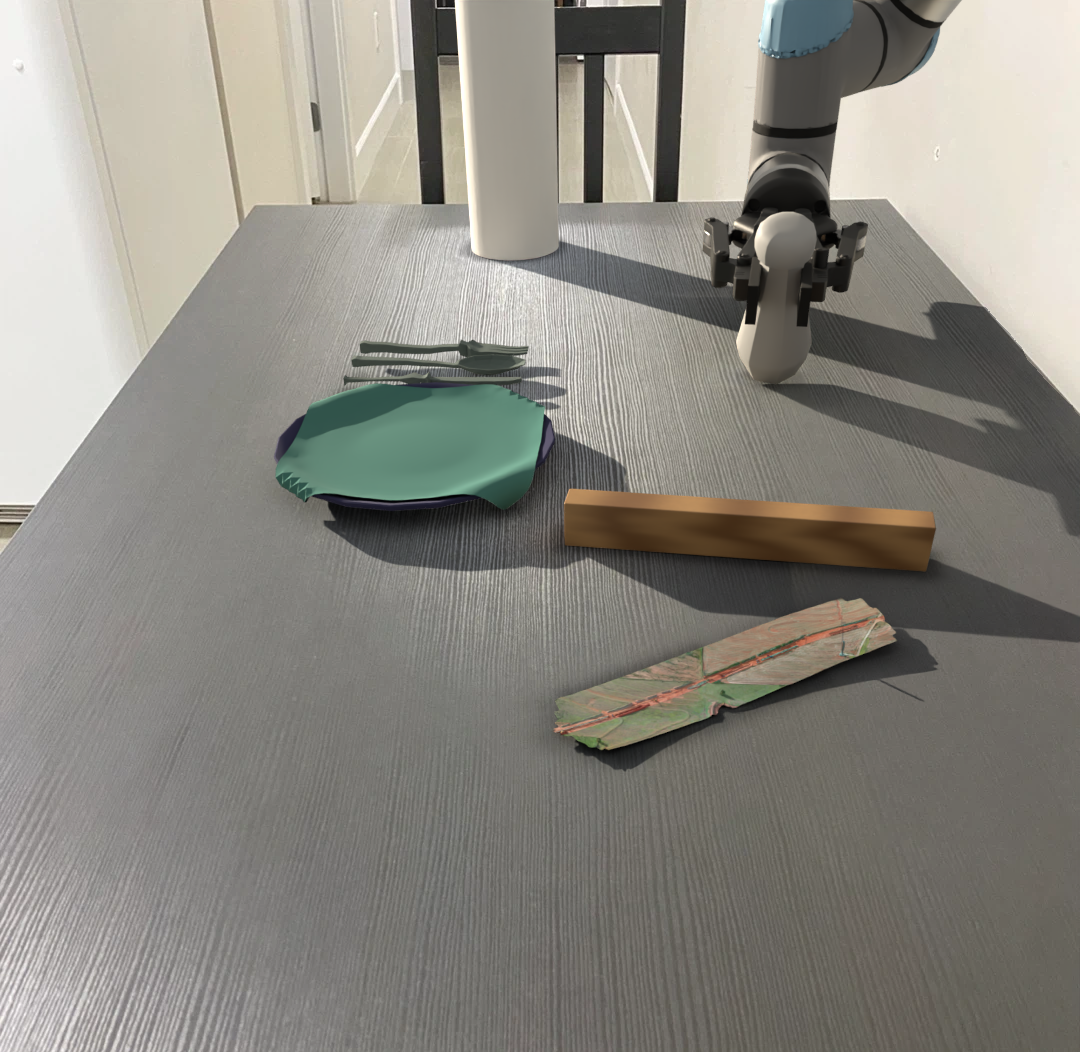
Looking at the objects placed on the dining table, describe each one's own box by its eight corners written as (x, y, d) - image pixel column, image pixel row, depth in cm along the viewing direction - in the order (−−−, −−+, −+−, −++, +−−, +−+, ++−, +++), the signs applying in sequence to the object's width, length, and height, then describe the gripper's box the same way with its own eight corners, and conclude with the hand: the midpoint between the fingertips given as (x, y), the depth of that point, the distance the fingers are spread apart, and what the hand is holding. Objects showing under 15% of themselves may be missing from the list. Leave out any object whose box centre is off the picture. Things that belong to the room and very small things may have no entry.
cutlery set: (244, 530, 71) (236, 499, 70) (342, 356, 94) (338, 329, 93) (546, 534, 70) (545, 502, 68) (571, 356, 93) (570, 329, 91)
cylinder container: (481, 264, 113) (458, -97, 94) (464, 238, 120) (440, -101, 101) (568, 254, 115) (563, -102, 95) (547, 230, 122) (538, -107, 102)
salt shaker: (729, 345, 90) (739, 203, 78) (799, 336, 90) (819, 192, 78) (742, 396, 87) (753, 256, 76) (814, 387, 87) (836, 245, 75)
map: (533, 717, 56) (532, 703, 56) (848, 592, 63) (850, 578, 62) (581, 775, 53) (580, 760, 52) (909, 636, 59) (912, 622, 59)
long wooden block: (923, 554, 67) (933, 511, 65) (926, 572, 65) (936, 528, 63) (569, 530, 70) (569, 488, 68) (564, 545, 69) (563, 503, 67)
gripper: (873, 261, 96) (885, 363, 78) (690, 255, 98) (662, 353, 81) (888, 167, 91) (905, 254, 73) (695, 164, 93) (666, 247, 76)
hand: (777, 306), depth 77 cm, fingers closed on salt shaker, 3 cm apart
